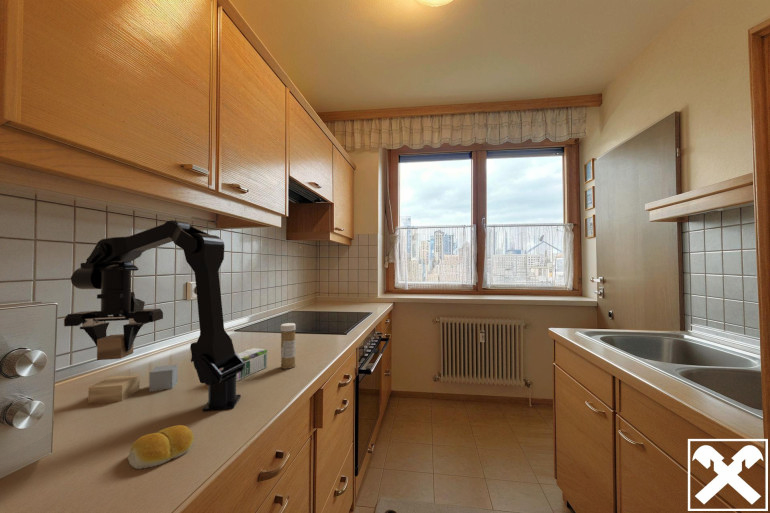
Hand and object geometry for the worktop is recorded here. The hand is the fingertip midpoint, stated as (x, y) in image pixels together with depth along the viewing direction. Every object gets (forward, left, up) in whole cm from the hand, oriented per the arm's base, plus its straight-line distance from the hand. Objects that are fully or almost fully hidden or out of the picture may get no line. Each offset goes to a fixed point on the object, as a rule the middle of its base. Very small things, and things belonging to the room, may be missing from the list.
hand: (115, 351), depth 77 cm
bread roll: (-29, -24, -11) cm, 39 cm away
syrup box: (+16, -31, -8) cm, 36 cm away
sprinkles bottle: (+13, -40, -11) cm, 43 cm away
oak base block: (0, 0, -11) cm, 11 cm away
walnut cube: (0, 0, -1) cm, 1 cm away
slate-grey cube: (+4, -9, -11) cm, 15 cm away
